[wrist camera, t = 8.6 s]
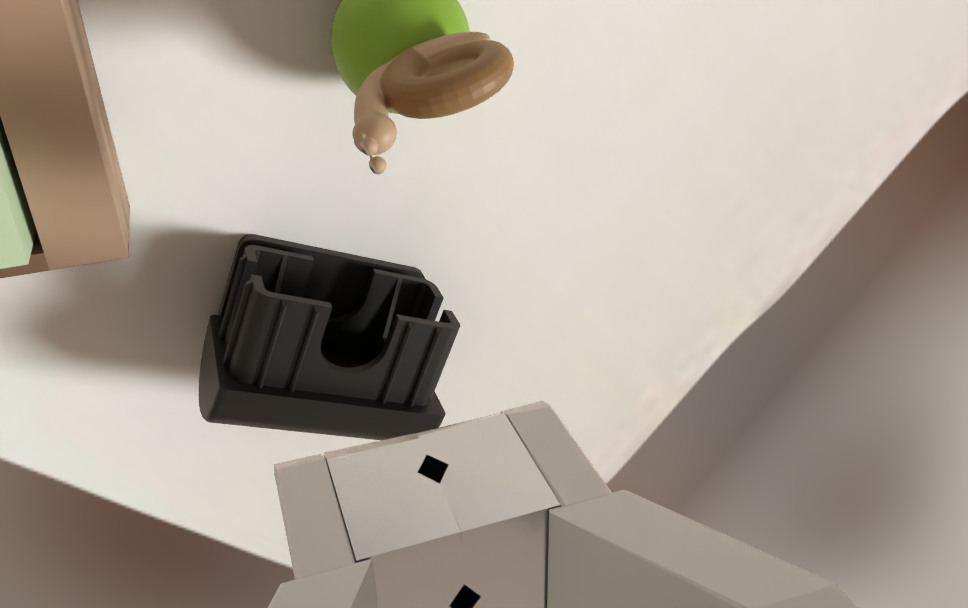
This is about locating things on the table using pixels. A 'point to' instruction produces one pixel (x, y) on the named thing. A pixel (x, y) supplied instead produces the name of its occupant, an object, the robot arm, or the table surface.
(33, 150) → the key panel
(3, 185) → the sage key
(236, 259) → the end cap
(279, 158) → the table surface
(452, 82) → the snail figurine
